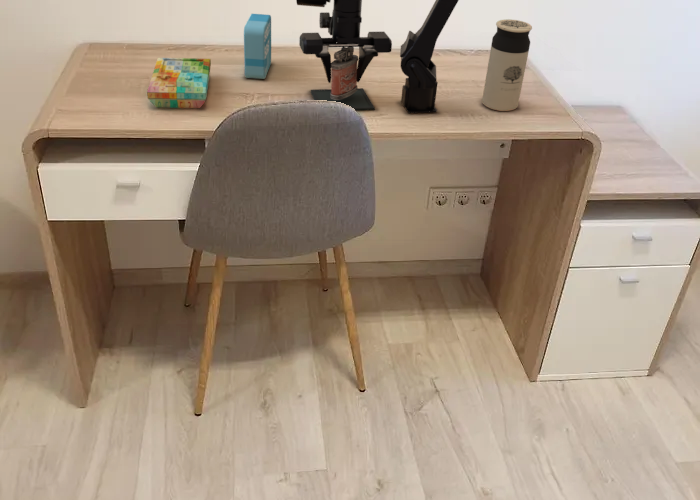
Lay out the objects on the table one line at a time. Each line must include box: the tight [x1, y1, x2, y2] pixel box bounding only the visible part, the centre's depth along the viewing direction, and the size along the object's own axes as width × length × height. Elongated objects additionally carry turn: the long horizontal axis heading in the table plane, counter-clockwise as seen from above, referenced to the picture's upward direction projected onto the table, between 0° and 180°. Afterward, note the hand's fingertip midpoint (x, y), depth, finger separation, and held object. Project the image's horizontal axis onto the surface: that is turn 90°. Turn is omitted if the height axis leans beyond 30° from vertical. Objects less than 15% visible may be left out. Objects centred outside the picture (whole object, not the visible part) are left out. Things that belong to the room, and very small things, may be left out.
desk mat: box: [310, 87, 376, 112], centre depth 163 cm, size 12×11×1 cm
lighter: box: [330, 47, 359, 100], centre depth 159 cm, size 8×3×10 cm, turn 145°
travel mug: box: [481, 18, 533, 112], centre depth 162 cm, size 8×8×18 cm
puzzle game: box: [146, 57, 212, 109], centre depth 161 cm, size 12×5×20 cm
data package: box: [243, 13, 272, 80], centre depth 172 cm, size 12×4×12 cm, turn 177°
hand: (343, 81), depth 161 cm, fingers closed on lighter, 6 cm apart
